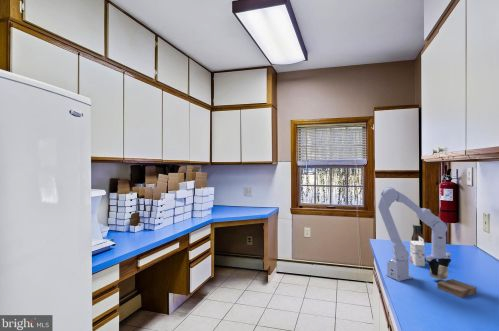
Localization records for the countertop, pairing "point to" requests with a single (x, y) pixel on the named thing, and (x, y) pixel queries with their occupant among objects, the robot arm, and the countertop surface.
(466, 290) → the walnut block
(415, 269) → the countertop surface
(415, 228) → the sauce bottle
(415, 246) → the ink cartridge box
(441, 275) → the maple cube
